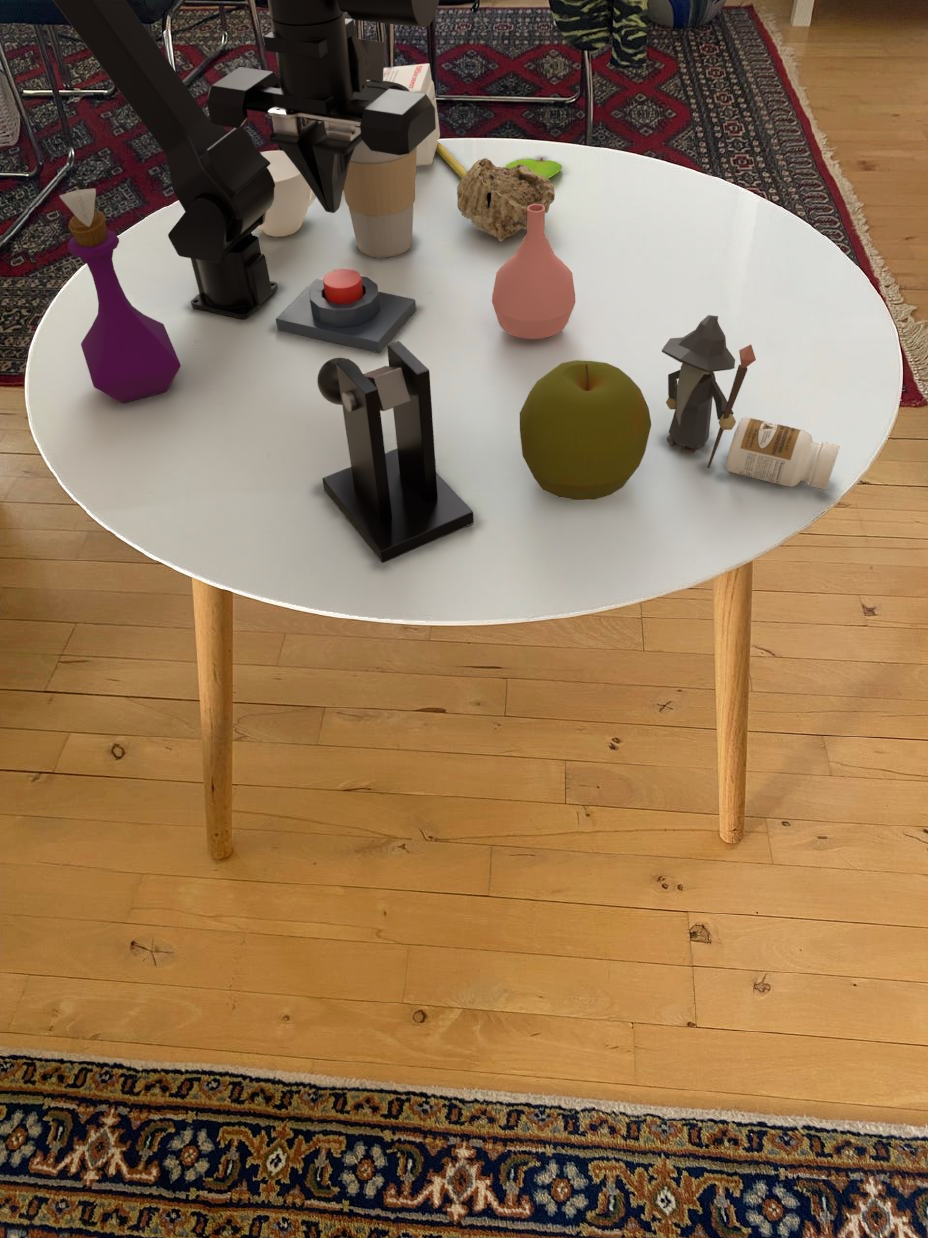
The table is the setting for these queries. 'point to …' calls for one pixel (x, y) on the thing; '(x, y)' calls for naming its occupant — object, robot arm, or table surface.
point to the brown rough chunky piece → (501, 197)
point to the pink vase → (534, 285)
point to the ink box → (419, 82)
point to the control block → (348, 317)
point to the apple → (584, 430)
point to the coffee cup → (381, 192)
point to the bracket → (393, 465)
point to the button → (343, 286)
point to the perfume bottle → (117, 316)
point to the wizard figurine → (702, 384)
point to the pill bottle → (780, 454)
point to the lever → (383, 379)
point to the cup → (286, 196)
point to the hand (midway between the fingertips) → (332, 210)
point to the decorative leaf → (539, 166)
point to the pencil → (450, 160)
